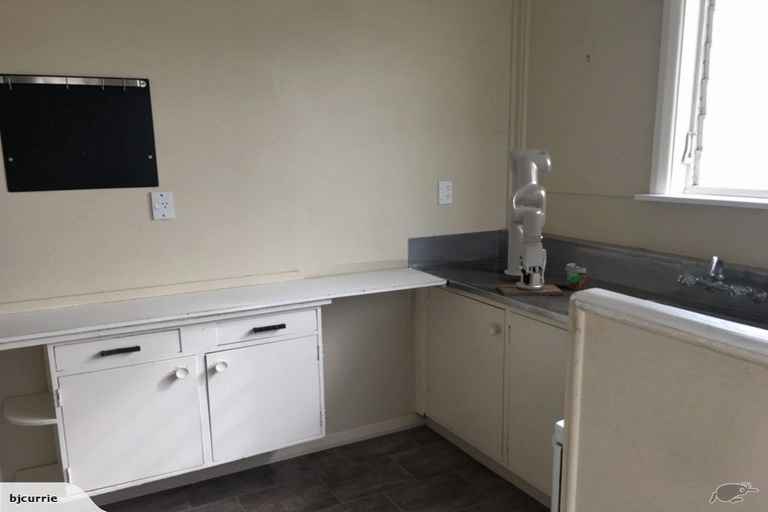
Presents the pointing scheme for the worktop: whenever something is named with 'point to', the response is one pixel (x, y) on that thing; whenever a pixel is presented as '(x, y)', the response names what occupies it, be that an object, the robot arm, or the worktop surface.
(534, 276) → the dial
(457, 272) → the worktop surface
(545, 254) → the beer glass
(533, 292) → the dial board
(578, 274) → the food container
